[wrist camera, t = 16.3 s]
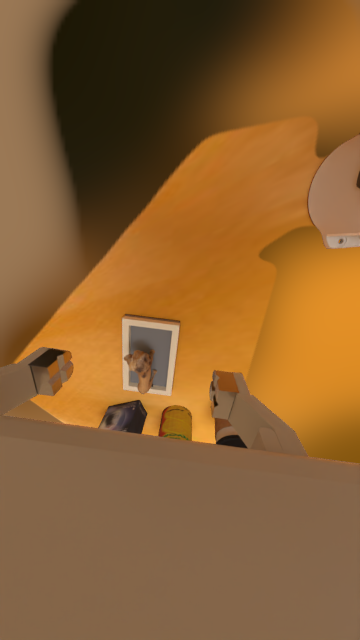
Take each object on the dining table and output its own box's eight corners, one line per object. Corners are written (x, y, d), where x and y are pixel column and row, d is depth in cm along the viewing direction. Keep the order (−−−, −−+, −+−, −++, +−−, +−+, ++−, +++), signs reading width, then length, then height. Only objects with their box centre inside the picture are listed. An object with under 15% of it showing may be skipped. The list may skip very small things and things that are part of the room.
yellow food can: (168, 401, 53) (162, 442, 42) (196, 411, 54) (197, 455, 43) (157, 420, 57) (149, 463, 46) (184, 430, 58) (182, 474, 47)
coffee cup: (246, 402, 52) (265, 460, 38) (224, 417, 55) (235, 476, 41) (225, 386, 50) (237, 441, 36) (203, 403, 53) (207, 460, 39)
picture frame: (180, 321, 43) (179, 325, 41) (171, 389, 51) (170, 395, 49) (125, 314, 43) (121, 318, 41) (126, 382, 52) (123, 389, 49)
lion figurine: (131, 338, 45) (117, 360, 36) (152, 336, 44) (143, 358, 36) (144, 385, 50) (134, 413, 42) (163, 384, 50) (157, 412, 41)
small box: (139, 398, 54) (127, 432, 44) (148, 413, 56) (138, 449, 46) (108, 405, 56) (90, 439, 46) (117, 420, 58) (102, 455, 48)
